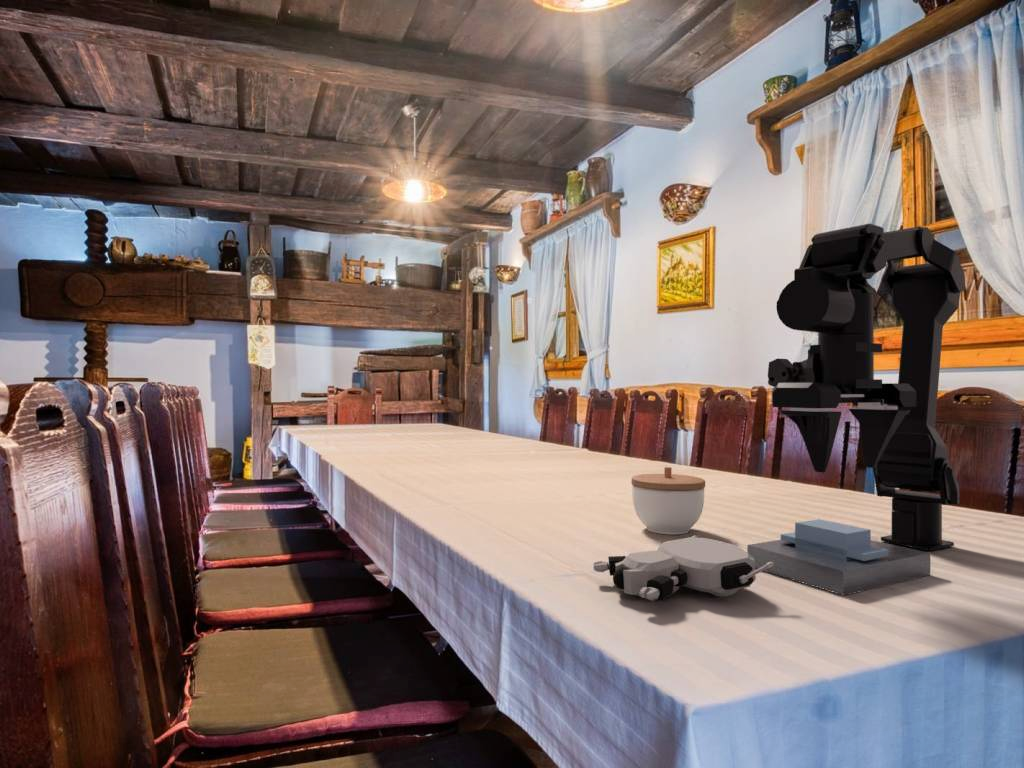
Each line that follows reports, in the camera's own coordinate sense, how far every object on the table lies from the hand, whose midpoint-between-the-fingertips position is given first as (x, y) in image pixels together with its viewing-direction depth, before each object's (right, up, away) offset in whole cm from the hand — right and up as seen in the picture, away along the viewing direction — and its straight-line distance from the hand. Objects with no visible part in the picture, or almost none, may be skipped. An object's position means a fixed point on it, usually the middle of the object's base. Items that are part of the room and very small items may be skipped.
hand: (845, 469), depth 72 cm
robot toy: (-22, -12, -8) cm, 26 cm away
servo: (-2, -12, 0) cm, 12 cm away
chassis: (-1, -12, 0) cm, 12 cm away
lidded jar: (-16, -12, +21) cm, 28 cm away
